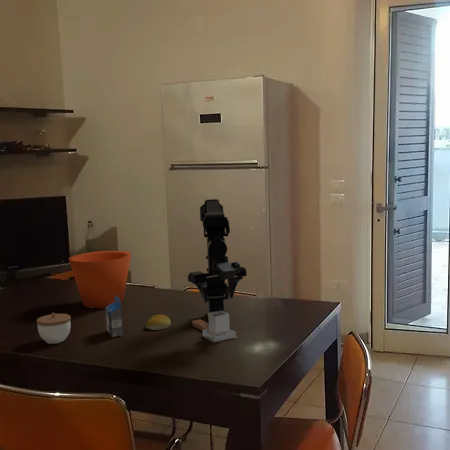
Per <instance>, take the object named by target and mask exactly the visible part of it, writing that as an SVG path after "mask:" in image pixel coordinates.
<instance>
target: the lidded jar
mask: <svg viewBox="0 0 450 450" xmlns="http://www.w3.org/2000/svg"><path fill="white" fill-rule="evenodd" d="M36 324H37V325H36V326H37V331H38V334H39V337H40V338H41V339H42V340H43V341H44V342H45V343H46V344H49V345H53V344H60V343H63V342H65V341H66V339H67V337H68V336H69V334H70V331H71V328H72V327H71V315H70V314H67V313H55V312H51V314H47V315H43V316H40V317H38V318H37V319H36ZM64 340H65V341H64ZM62 341H63V342H62Z"/></svg>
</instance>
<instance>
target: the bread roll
mask: <svg viewBox="0 0 450 450" xmlns="http://www.w3.org/2000/svg"><path fill="white" fill-rule="evenodd" d="M170 326H171V319H170V318H169V317H168V316H167V315H165V314H155V315H153V316H151V317H150V318H149V319H148V320H147V321H146V323H145V327H146V329H147V328H148V330H150V329H151V330H152V331H160V330H166V329H168V328H170Z"/></svg>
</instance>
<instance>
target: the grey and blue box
mask: <svg viewBox="0 0 450 450" xmlns="http://www.w3.org/2000/svg"><path fill="white" fill-rule="evenodd" d="M117 300H118V301H119V303H118V302H117ZM104 311H105V321H106V332H108V334H109V335H110V337H112V338H116V337H117V336H119V337H123V336H124V335H123V321H122V318H123V317H122V304H121V300H120V299H119V298H118V297H117V296H116V295H115V302H114V303H112V304H110V305H109V306H107V307H106V308H104ZM117 338H118V337H117Z"/></svg>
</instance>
